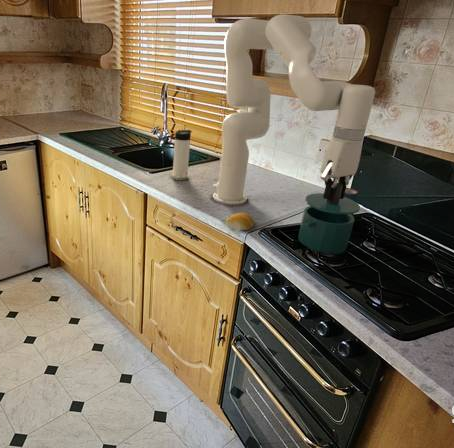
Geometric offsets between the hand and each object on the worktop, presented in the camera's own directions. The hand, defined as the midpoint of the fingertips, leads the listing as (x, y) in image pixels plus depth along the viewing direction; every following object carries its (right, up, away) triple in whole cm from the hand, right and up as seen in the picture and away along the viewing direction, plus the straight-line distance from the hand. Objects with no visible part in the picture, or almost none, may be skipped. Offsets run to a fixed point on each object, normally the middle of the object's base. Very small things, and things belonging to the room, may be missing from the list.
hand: (333, 197), depth 115 cm
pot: (-1, -13, +6) cm, 15 cm away
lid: (0, -2, +1) cm, 2 cm away
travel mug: (-41, +12, +56) cm, 70 cm away
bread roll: (-24, -8, +15) cm, 29 cm away
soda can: (+10, -8, +20) cm, 24 cm away
